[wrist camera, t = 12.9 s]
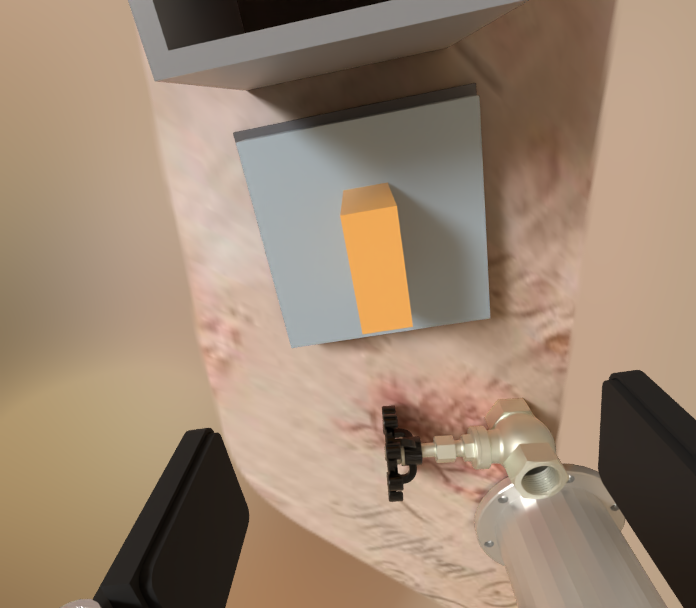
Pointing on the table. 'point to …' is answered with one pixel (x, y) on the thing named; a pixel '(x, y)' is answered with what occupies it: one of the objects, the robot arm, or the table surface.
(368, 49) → the tub
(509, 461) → the valve
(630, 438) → the robot arm
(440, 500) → the table surface
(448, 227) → the lid
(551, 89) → the table surface
